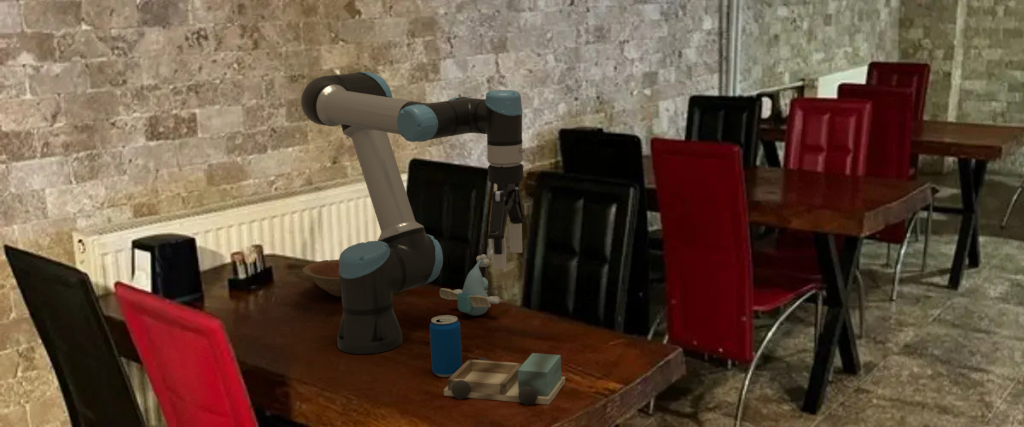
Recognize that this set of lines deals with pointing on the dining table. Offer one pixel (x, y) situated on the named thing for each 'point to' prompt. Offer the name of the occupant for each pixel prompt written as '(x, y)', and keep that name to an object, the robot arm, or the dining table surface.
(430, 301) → the dining table surface
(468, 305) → the toy figure
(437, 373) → the beverage can
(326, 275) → the bowl
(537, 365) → the toy truck
